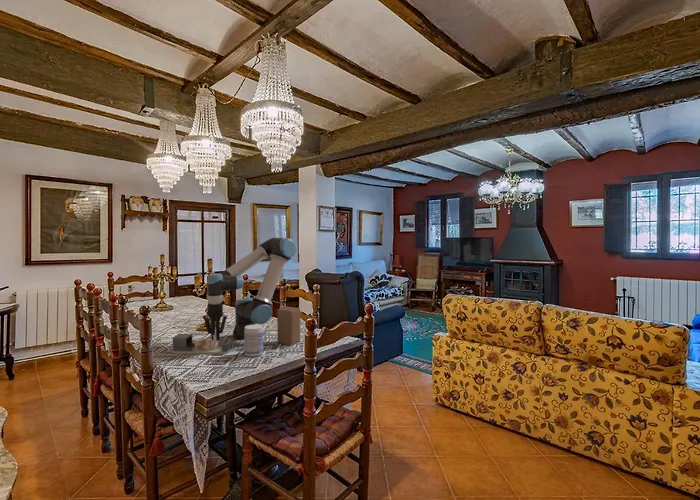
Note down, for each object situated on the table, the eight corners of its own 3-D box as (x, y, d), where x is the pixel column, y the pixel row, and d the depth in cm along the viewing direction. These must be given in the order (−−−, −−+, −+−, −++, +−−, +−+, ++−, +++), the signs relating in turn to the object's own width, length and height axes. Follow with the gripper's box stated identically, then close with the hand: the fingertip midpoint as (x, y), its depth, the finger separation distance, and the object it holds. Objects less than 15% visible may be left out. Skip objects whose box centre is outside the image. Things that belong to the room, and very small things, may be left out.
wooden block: (300, 341, 212) (300, 307, 211) (291, 346, 203) (291, 311, 201) (286, 338, 216) (286, 306, 215) (276, 343, 207) (276, 309, 206)
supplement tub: (263, 356, 186) (262, 328, 185) (243, 357, 184) (243, 329, 183) (263, 350, 195) (263, 323, 194) (245, 351, 193) (244, 324, 192)
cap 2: (232, 346, 197) (232, 339, 197) (227, 351, 190) (227, 344, 189) (226, 346, 197) (226, 339, 197) (221, 351, 190) (221, 344, 189)
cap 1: (197, 346, 197) (197, 334, 197) (191, 351, 190) (191, 338, 189) (179, 346, 197) (179, 333, 197) (172, 350, 190) (172, 337, 189)
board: (230, 348, 198) (230, 346, 198) (225, 353, 189) (225, 352, 189) (180, 347, 198) (180, 345, 198) (172, 353, 189) (172, 351, 189)
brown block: (194, 350, 191) (194, 340, 191) (198, 347, 195) (197, 338, 195) (209, 350, 191) (209, 341, 191) (212, 347, 195) (212, 338, 195)
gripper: (229, 301, 196) (230, 344, 197) (205, 301, 196) (206, 343, 197) (224, 304, 188) (225, 348, 190) (200, 304, 188) (200, 348, 190)
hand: (215, 346), depth 193 cm, fingers closed
